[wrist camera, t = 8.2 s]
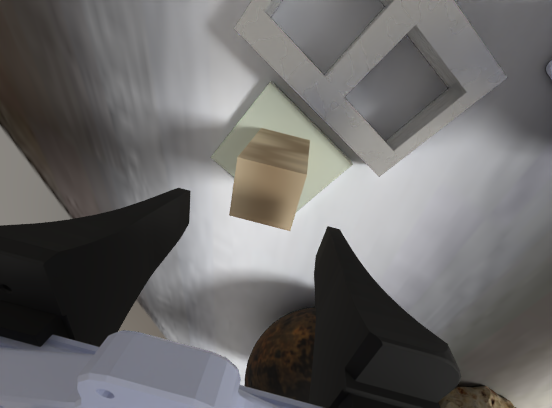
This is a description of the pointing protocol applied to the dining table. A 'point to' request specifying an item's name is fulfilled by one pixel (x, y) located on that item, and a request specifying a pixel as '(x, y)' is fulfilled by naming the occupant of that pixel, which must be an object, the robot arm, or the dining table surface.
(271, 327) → the glass bottle
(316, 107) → the white flat frame
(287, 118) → the ceramic tile
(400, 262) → the dining table surface
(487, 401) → the rock
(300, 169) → the maple peg
